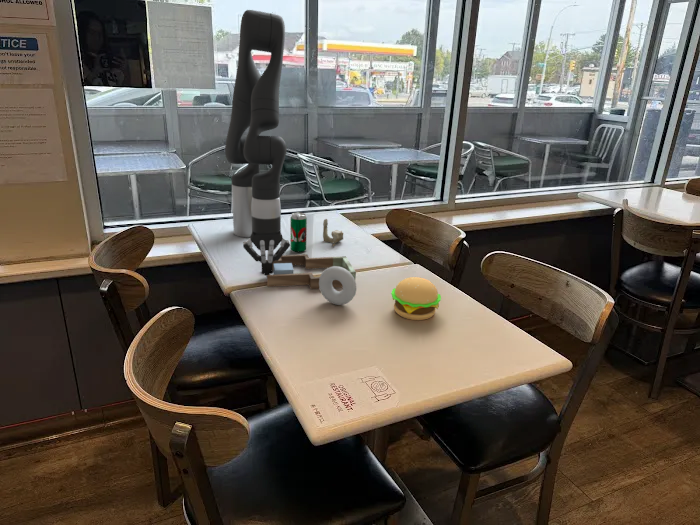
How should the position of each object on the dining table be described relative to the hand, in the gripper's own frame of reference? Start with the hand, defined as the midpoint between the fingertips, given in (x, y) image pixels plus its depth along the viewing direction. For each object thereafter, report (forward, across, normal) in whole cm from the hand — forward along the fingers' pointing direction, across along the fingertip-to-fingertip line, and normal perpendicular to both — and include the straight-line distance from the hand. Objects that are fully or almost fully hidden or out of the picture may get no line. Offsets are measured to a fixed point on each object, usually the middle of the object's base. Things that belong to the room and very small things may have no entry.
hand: (266, 274), depth 136 cm
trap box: (+1, -12, 0) cm, 12 cm away
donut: (+1, -16, +18) cm, 24 cm away
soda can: (+1, -12, -21) cm, 24 cm away
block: (+1, -4, 0) cm, 5 cm away
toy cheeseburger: (+1, -34, +25) cm, 42 cm away
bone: (+1, -24, -27) cm, 36 cm away
